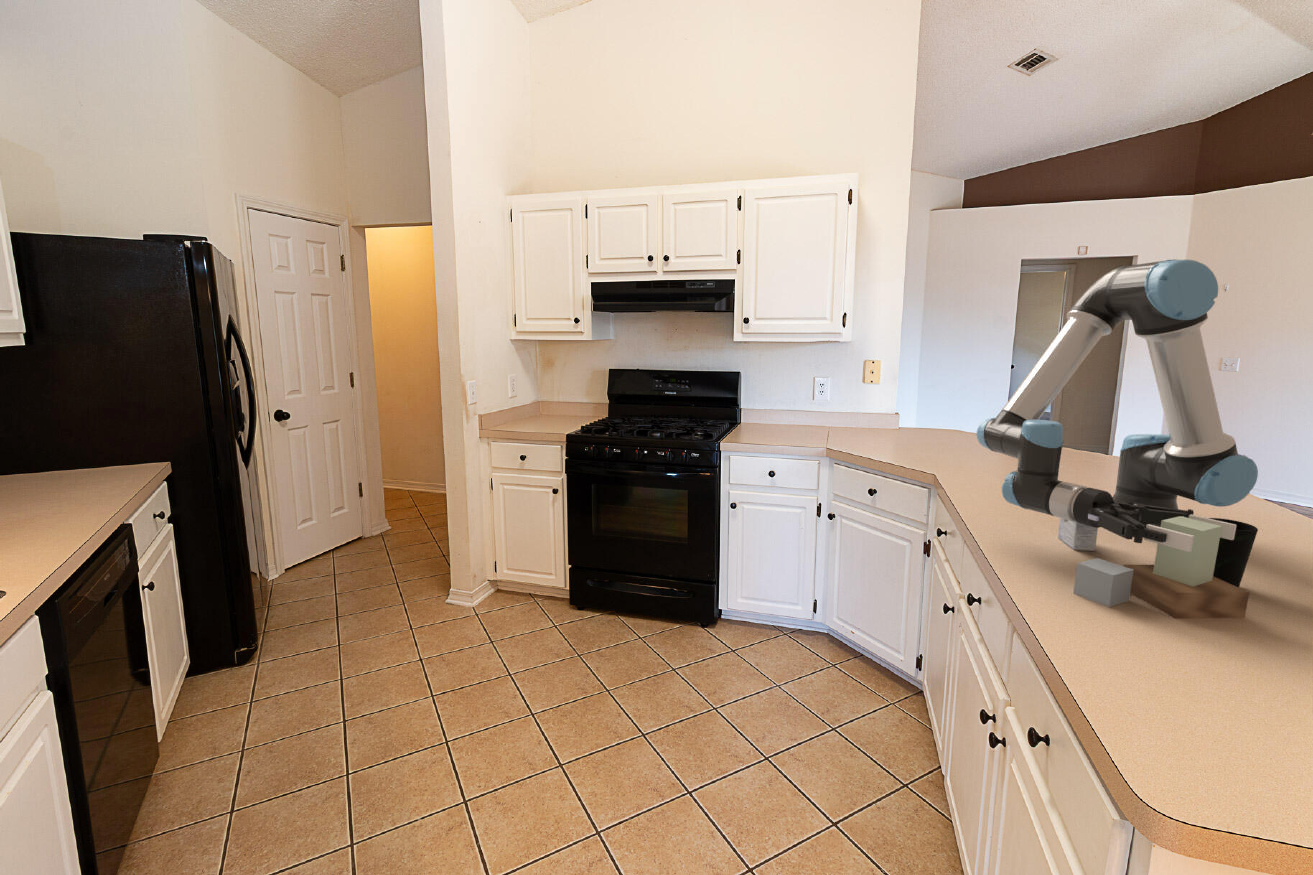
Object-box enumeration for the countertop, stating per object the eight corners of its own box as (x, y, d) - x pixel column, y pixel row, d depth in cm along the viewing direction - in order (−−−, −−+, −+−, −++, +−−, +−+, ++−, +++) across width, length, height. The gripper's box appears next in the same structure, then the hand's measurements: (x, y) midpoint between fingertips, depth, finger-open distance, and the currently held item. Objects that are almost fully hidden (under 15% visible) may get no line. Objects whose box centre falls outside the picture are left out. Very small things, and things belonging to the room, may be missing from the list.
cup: (1232, 579, 117) (1243, 520, 115) (1255, 595, 110) (1268, 532, 108) (1183, 573, 119) (1193, 516, 117) (1203, 589, 112) (1214, 528, 110)
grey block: (1093, 588, 113) (1097, 557, 112) (1128, 601, 108) (1133, 569, 107) (1073, 593, 111) (1077, 563, 110) (1108, 607, 105) (1113, 575, 104)
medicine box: (1095, 551, 131) (1100, 513, 130) (1072, 550, 132) (1077, 512, 130) (1078, 539, 139) (1083, 503, 137) (1056, 538, 140) (1061, 502, 138)
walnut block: (1182, 589, 113) (1186, 564, 112) (1244, 620, 102) (1249, 592, 101) (1119, 589, 113) (1123, 564, 112) (1173, 620, 101) (1178, 592, 100)
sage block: (1171, 568, 111) (1180, 516, 109) (1212, 580, 105) (1222, 526, 103) (1152, 573, 108) (1161, 520, 106) (1193, 586, 103) (1202, 530, 101)
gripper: (1116, 514, 127) (1246, 548, 108) (1040, 531, 117) (1169, 571, 98) (1121, 480, 125) (1254, 507, 106) (1044, 493, 115) (1176, 526, 96)
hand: (1213, 538), depth 102 cm, fingers open, 13 cm apart
